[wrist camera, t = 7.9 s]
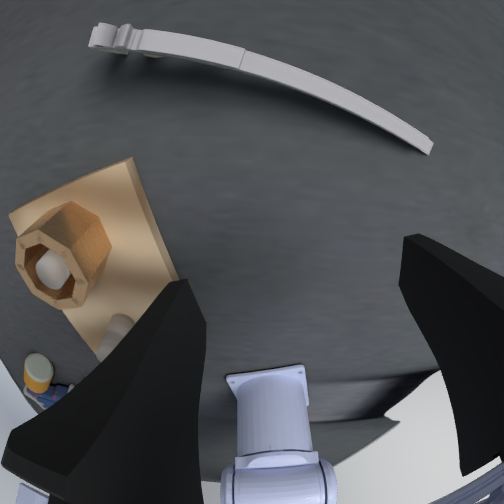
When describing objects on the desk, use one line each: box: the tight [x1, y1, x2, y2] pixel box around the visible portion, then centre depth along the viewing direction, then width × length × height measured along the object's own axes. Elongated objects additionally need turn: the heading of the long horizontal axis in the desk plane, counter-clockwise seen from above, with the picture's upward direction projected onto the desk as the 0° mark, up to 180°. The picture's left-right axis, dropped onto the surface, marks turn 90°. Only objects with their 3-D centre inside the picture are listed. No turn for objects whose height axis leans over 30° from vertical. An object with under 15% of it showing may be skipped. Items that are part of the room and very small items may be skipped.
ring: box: [15, 201, 112, 310], centre depth 15 cm, size 6×6×4 cm
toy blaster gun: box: [24, 353, 75, 409], centre depth 29 cm, size 21×4×15 cm
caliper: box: [88, 23, 433, 155], centre depth 11 cm, size 20×1×6 cm, turn 73°
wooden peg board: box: [9, 157, 180, 362], centre depth 18 cm, size 16×12×5 cm
